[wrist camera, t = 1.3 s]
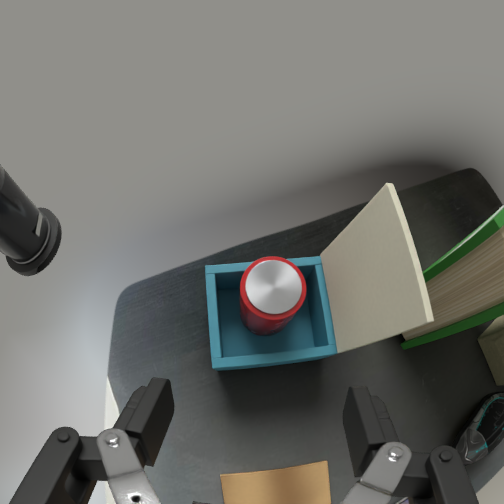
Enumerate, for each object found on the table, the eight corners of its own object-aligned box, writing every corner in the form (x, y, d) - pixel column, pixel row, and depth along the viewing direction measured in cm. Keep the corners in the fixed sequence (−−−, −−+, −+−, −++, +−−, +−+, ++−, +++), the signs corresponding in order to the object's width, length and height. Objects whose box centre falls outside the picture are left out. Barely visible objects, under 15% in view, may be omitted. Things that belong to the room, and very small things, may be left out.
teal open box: (217, 370, 36) (212, 368, 29) (210, 285, 40) (205, 265, 34) (322, 358, 37) (339, 353, 30) (309, 276, 41) (321, 255, 35)
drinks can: (242, 338, 36) (243, 322, 27) (237, 289, 39) (237, 257, 29) (293, 333, 37) (312, 315, 27) (286, 285, 39) (301, 252, 30)
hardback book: (403, 349, 37) (538, 299, 15) (377, 305, 40) (493, 218, 18) (472, 287, 41) (576, 217, 19) (449, 250, 44) (544, 165, 22)
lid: (427, 322, 18) (434, 321, 18) (386, 182, 22) (393, 183, 22) (337, 353, 30) (343, 352, 30) (319, 254, 34) (325, 254, 34)
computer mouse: (514, 414, 32) (536, 412, 26) (449, 479, 28) (472, 485, 23) (502, 375, 35) (525, 370, 30) (435, 438, 32) (458, 442, 26)
